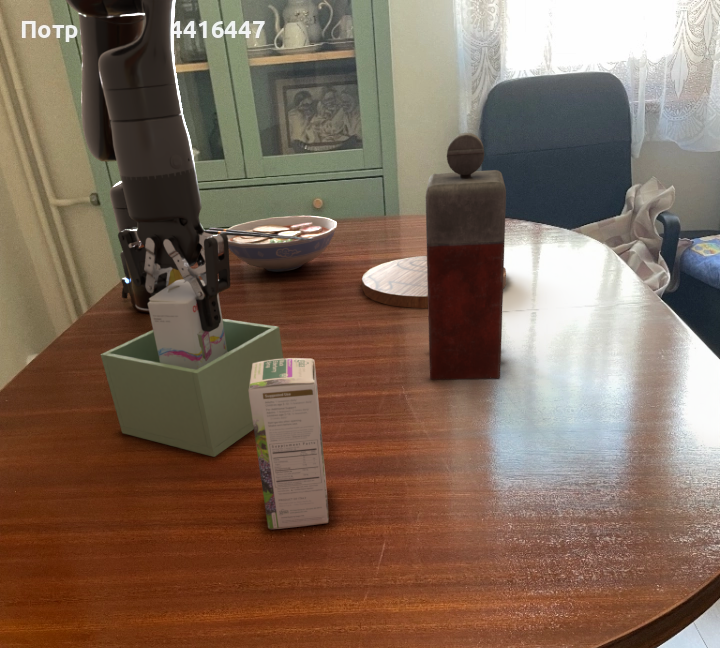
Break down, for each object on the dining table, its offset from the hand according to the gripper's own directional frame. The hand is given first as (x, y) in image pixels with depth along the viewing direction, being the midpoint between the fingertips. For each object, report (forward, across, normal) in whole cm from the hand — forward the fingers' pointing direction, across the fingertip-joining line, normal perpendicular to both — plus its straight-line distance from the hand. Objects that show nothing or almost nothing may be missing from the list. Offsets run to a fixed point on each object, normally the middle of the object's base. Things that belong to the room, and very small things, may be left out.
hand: (189, 325), depth 82 cm
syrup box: (+12, -22, +12) cm, 28 cm away
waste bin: (+12, 0, 0) cm, 12 cm away
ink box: (+8, 0, 0) cm, 8 cm away
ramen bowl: (+12, +31, -59) cm, 68 cm away
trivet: (+12, -3, -57) cm, 58 cm away
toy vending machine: (+12, -22, -27) cm, 37 cm away
